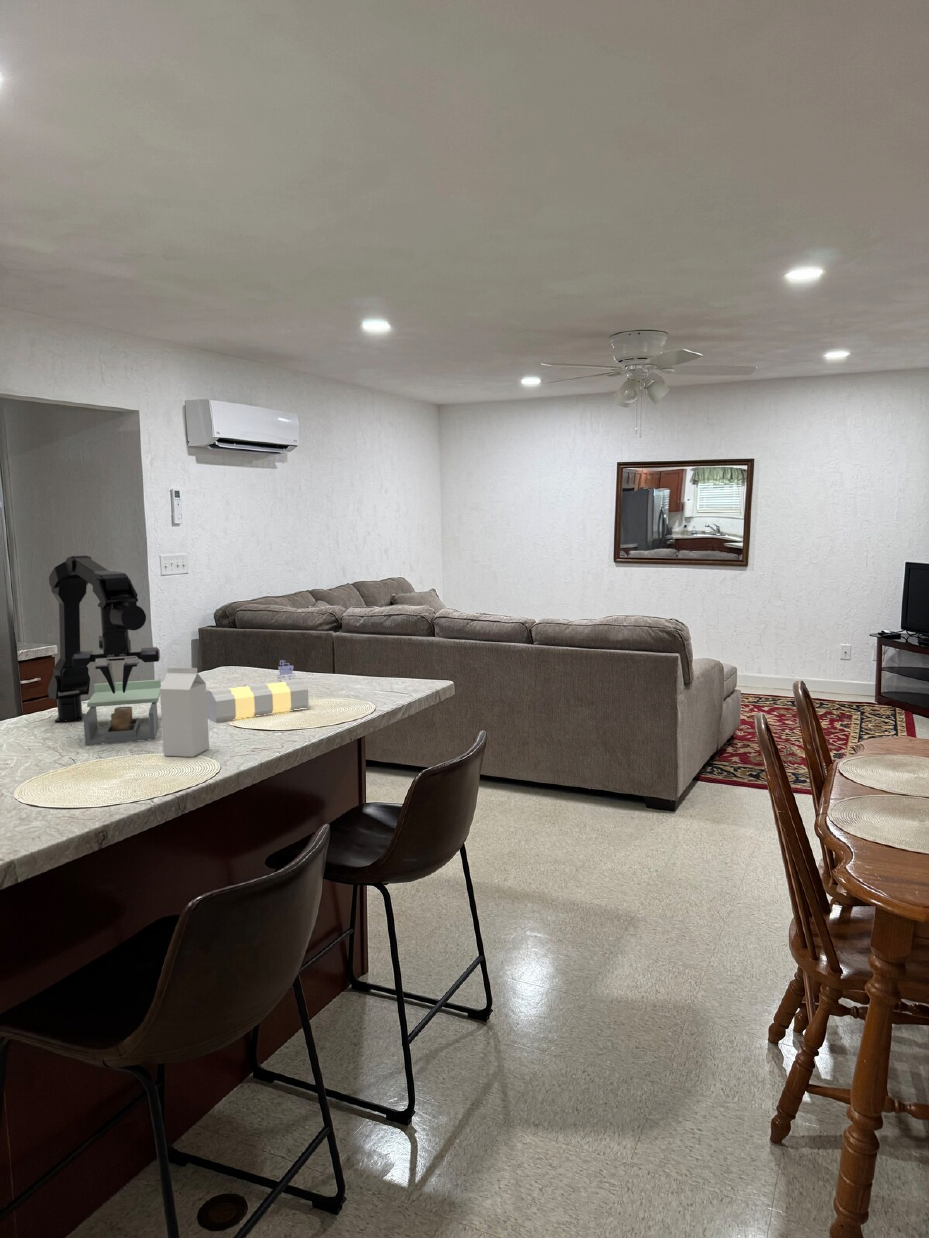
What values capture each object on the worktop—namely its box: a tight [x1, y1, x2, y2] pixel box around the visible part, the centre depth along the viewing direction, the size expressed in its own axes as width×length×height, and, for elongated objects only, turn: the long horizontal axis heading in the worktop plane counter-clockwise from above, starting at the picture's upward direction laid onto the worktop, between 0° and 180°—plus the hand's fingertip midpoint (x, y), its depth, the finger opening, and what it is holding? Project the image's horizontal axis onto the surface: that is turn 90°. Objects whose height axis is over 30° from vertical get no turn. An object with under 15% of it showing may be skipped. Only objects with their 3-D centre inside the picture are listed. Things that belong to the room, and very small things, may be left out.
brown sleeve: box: [110, 712, 131, 732], centre depth 199 cm, size 4×4×5 cm
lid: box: [86, 679, 162, 708], centre depth 211 cm, size 15×16×3 cm
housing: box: [83, 702, 159, 746], centre depth 202 cm, size 14×15×6 cm
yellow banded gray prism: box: [206, 659, 309, 723], centre depth 223 cm, size 25×10×13 cm, turn 124°
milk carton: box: [159, 667, 210, 758], centre depth 185 cm, size 7×7×19 cm
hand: (119, 692), depth 198 cm, fingers closed
